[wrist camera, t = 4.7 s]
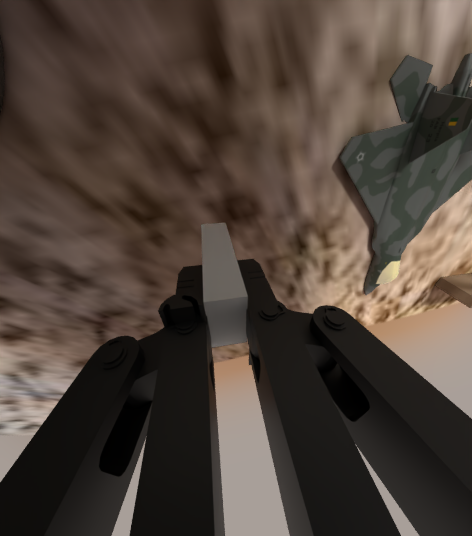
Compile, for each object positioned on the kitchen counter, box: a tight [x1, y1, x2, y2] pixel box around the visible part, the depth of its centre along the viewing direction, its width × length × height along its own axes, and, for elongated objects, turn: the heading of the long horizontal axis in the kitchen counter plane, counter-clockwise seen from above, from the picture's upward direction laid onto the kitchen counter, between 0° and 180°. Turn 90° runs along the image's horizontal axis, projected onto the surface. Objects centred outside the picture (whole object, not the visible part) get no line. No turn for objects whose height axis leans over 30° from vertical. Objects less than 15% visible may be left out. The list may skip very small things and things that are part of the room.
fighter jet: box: [339, 53, 472, 295], centre depth 14 cm, size 13×18×4 cm
